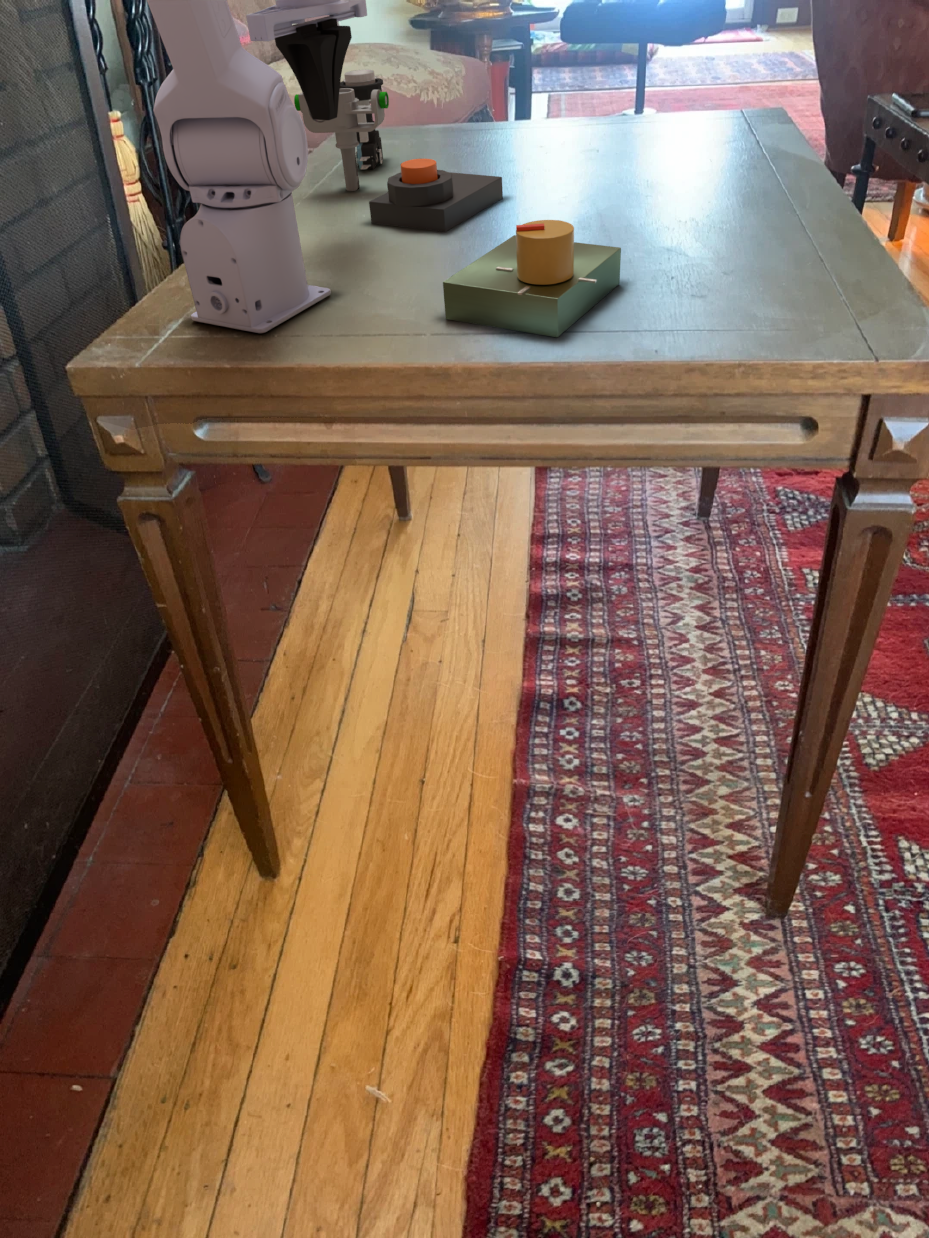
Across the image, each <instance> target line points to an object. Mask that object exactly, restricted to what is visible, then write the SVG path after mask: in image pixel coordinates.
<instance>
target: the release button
mask: <svg viewBox="0 0 929 1238" xmlns="http://www.w3.org/2000/svg"><path fill="white" fill-rule="evenodd" d="M437 170H438V165H437V161H436V160H435V159H432V158H414V159H413V158H412V159H409V160H408V159H407V160H405V161H403V162H402V163H400V173H401V175H402V183H408V184H421V183H428V182H432V181H436V180H438V177H437Z"/></svg>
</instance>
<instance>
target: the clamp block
mask: <svg viewBox="0 0 929 1238" xmlns="http://www.w3.org/2000/svg"><path fill="white" fill-rule="evenodd" d="M621 256H622V247H621V246H620V247H618V246H610V245H602V244H601V245H600V244H593V243H584V242H577V241H576V242H575V241H574V274H573V276H572V277H571V278H570V279H568V280H566V281H564V282H561V283H556V284H549V285H535V284H529V283H525V282H523V281H521V280H519V279H518V277H517V254H516V234H514V235H512V236H510V237H509V238H508V239H506V240H504V241H503V242H501V243H500V244H498V245H497V246H495V247H494V248H492V249H490V250H489V251H488V252H486V253H485V254H483V255H482V256H480V257H479V258H477V259H476V260H474V261H473V262H471V263H470V264H468V265H466V266H465V267H464V268H462V269H461V270H459V271H457V272H456V273H454V274H453V275H451V276H449V277H448V278H447V279H445V280H443V282H442V289H443V302H444V303H443V304H444V313H445V314H444V316H445V320H448V321H449V320H450V321H456V322H461V323H469V324H474V325H480V326H486V327H492V328H498V329H505V330H511V331H516V332H522V333H528V334H534V335H539V336H547V337H552V338H559V337H560V336H562V335H563V334H564V333H565V331H567V330H568V329H569V328H570V327H571V326H573V325H574V324H575V323H576V322H577V321H578V320H579V319H581V318H582V317H583V316H584V315H585V314H586V313H588V312H589V311H590V310H591V309H592V308H593V307H595V306H596V305H597V304H598V303H599V302H600V301H602V299H604V298H605V297H607V295H608V294H610V293H611V292H612V291H613V290H614V289H616V288H617V287H618V286H619V285H620V284H621V283H620V281H621V262H622V261H621V258H622V257H621Z"/></svg>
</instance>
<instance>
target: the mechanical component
mask: <svg viewBox="0 0 929 1238" xmlns="http://www.w3.org/2000/svg"><path fill="white" fill-rule="evenodd" d="M358 103H359V99H357V98H355V94H354V89H350V88H341V89H340V90H339V102H338V114H337V118H334V119H331V120H313V118H312V116H311V113H310V111H309V108H308V105H307V103H306V100H305V97H304V95H303V92H302V91H301V92H300V93H298V94H297V93H296V94H294V99H293V105H294V107H295V108H296V110H297V111H298V112H300V113H301V114H302V121H303V124H304V127H305V129H306V130H308V131H309V132H311V133H313V134H328V133H329V134H332V133H333V134H335V147H336V149H339V150H340V153H341V161H342V168H343V176H344V183H345V189H346V191H348V192H355V191H358V188H359V189H360V178H359V177H360V176H359V170H358V165H357V159H356V148H357V146H358V145H359V142H358V141H357V134H356V132H371V131H373V130H374V129H375V130H377V128H378V127H380V126H381V124H382V123H383V122H384V121H385V116H386V115H385V109H388V108H389V105H390V99H389V93H388V92H387V91H382V92H381V90H373V91H372V93H371V100H369V104H370V105H367V106H358ZM370 113H372V114H374V122H375V123H358V119H357V114H370Z"/></svg>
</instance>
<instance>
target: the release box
mask: <svg viewBox="0 0 929 1238" xmlns="http://www.w3.org/2000/svg"><path fill="white" fill-rule="evenodd" d="M437 177H438V180H436V181H432V182H428V183H421V184H408V183H402V175H401V172H398V173H396V174H393V175H391V176H390V177H388V178H387V182H386V186H387V191H386V192H385V193H383V194H381V195H379V196H377V197H375V198H373V199H371V200H369V201H368V207H369V214H370V223H371V224H374V225H375V224H376V225H384V226H393V227H402V228H409V229H418V230H427V231H435V232H443V233H444V232H448V231H449V230H451V229H453V228H455V227H456V226H458V225H460V224H461V223H463V222H464V221H467V220H468V219H470V218H472V217H473V216H475V215H477V214H478V213H480V212H482V211H483V210H486V208H489V207H490V206H492V205H494V204H495V203H497V202H498V201H500V200H501V199H503V197H504V196H503V195H504V194H503V177H502V176H498V175H496V176H495V175H484V174H472V173H462V172H451V171H445V170H443V169H437Z"/></svg>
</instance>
